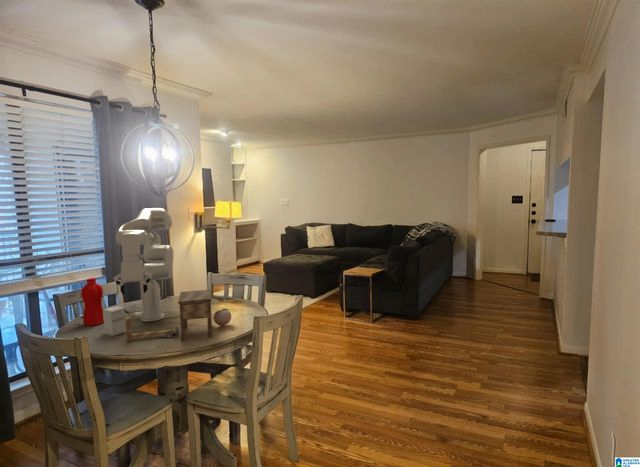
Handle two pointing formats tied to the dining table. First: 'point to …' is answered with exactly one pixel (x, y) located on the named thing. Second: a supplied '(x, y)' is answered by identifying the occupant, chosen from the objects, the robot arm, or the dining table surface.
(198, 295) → the cabinet
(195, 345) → the dining table surface
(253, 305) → the dining table surface
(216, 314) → the decorative fruit
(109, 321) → the supplement box
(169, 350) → the dining table surface
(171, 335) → the token
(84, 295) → the water bottle
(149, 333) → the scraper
